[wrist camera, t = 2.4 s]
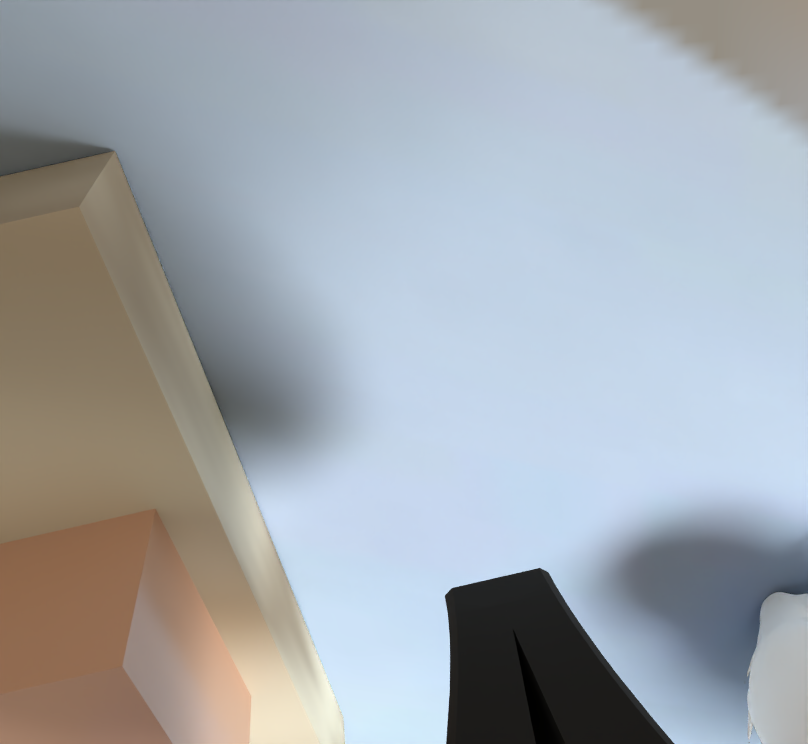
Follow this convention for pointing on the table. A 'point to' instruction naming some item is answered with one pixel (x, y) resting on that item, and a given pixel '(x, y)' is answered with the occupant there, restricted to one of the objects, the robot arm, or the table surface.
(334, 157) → the table surface
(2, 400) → the thin cream square panel
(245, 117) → the table surface
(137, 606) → the tile
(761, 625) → the white figurine
